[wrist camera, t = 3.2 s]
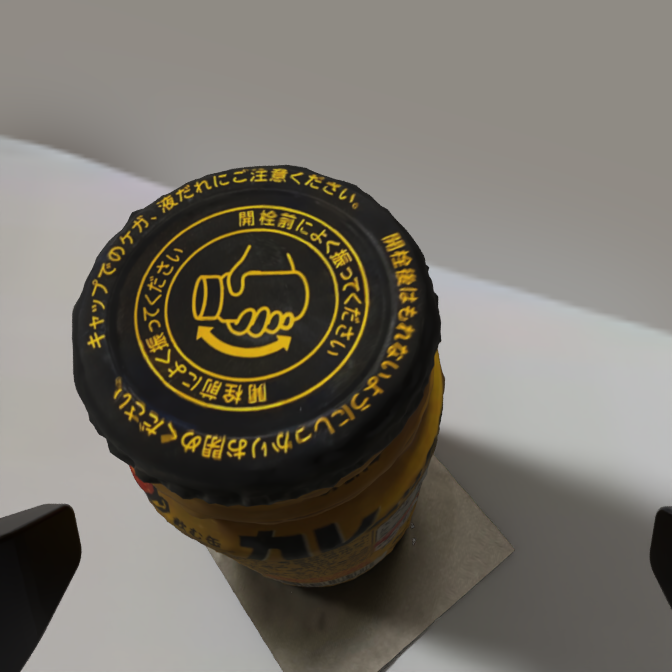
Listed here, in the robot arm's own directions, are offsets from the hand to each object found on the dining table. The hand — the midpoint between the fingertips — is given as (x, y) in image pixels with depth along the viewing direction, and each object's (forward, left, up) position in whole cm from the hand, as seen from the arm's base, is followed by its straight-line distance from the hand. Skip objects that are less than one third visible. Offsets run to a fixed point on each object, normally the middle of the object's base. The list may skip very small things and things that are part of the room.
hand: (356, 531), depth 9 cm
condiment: (+2, +1, -10) cm, 10 cm away
